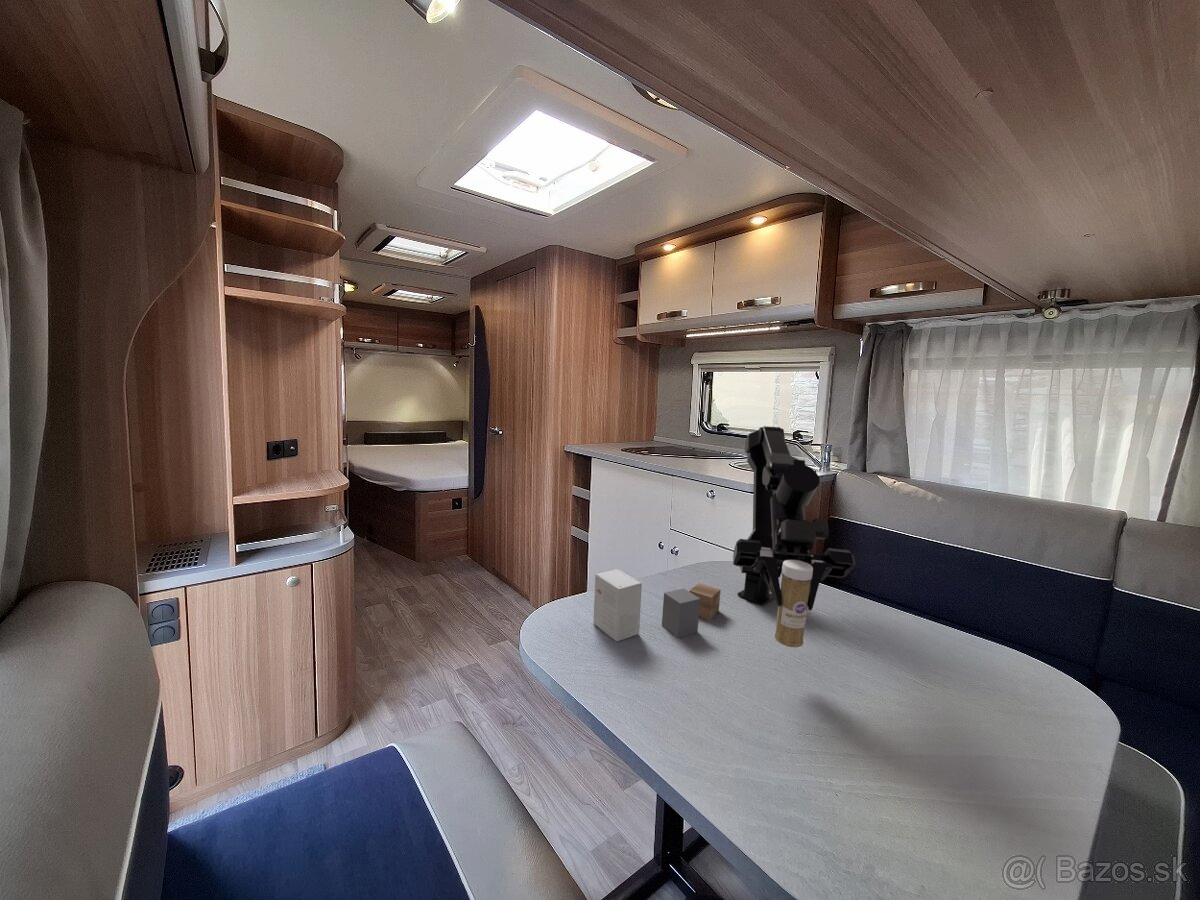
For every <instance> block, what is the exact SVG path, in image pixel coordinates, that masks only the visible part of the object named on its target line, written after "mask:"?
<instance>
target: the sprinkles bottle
mask: <svg viewBox="0 0 1200 900" xmlns="http://www.w3.org/2000/svg"><path fill="white" fill-rule="evenodd" d="M812 574H813V567H812V566H811V565H810V564H808V563H806V562H803V561H799V560H785V561H784V562H783V565H782V572H781V577H782V578H781V583H780V591H781V606H777V611H776V612H777V613H776V628H775V633H774V638H775V641H776V642H778V643H779V644H780V645H783V646H786V647H788V648H800V647H802V646H803V645H804V634H805V628H806V627H805V626H806V622H807V614H808V613H807V612H808V606H807V605H808V596H809V587H810V581H811V579H812Z"/></svg>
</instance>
